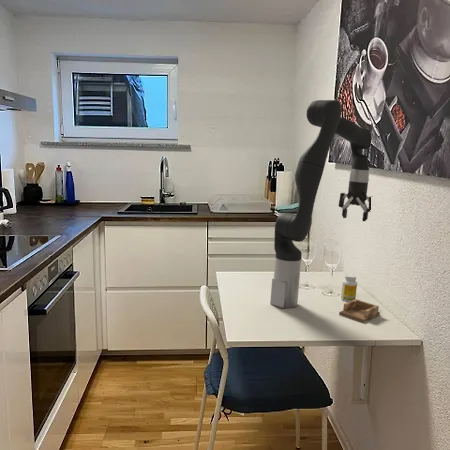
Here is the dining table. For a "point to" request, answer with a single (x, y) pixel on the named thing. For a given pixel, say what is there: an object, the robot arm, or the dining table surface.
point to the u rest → (359, 310)
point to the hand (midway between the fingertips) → (354, 219)
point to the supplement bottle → (349, 288)
